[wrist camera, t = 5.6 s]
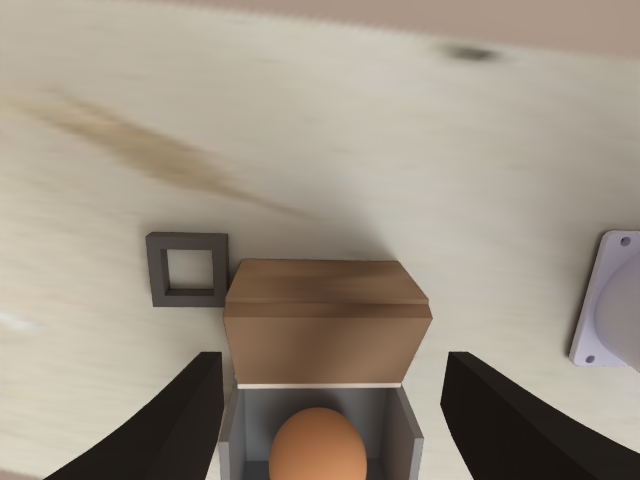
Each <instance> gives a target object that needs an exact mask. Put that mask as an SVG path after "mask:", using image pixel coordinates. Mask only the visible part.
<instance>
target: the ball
mask: <svg viewBox="0 0 640 480" xmlns="http://www.w3.org/2000/svg"><path fill="white" fill-rule="evenodd" d="M366 473H367V459H366V452H365V447H364V444H363V441H362V439H361V437H360V435H359V433H358V431H357V430H356V428H355V427H354V425H353V424H352V423H351V422H350V421H349V420H348V419H347V418H346V417H344V416H343V415H342V414H340V413H338V412H336V411H334V410H331V409H328V408H322V407H314V408H308V409H305V410H302V411H300V412H298V413H296V414H294V415H293V416H291V417H290V418H289V419H288V420H287V421H286V422H285V423H284V424H283V425H282V426H281V428H280V429H279V431H278V432H277V434H276V436H275V438H274V441H273V443H272V446H271V450H270V455H269V476H270V480H365V479H366Z"/></svg>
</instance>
